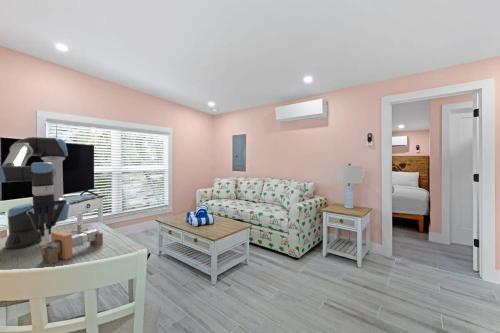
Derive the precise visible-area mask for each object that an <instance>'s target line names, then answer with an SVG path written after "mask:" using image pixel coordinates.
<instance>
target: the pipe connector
mask: <svg viewBox="0 0 500 333" xmlns="http://www.w3.org/2000/svg"><path fill="white" fill-rule="evenodd" d="M76 229H77V230H76ZM76 229H75V230H73V229H72V230H71V231H70V234H72V235H75V234H82V233H83V232H85V231H88V230H89V229H88V228H84V229H82V224H81V223H78V224H76Z"/></svg>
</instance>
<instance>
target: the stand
mask: <svg viewBox="0 0 500 333" xmlns="http://www.w3.org/2000/svg"><path fill="white" fill-rule="evenodd" d="M103 236H104V235H103V232H100V231H99V234H96V240H93V241H90V242H89V245H91V246H95V247H100V246H102V245H104V237H103ZM41 254H42V256H41V257H42V263H47V264H48V265H49V264H50V265H52V264H54V263H58V262H59V257H58V248H57V247H56V248H49V247H47V245H46V246H42V247H41Z"/></svg>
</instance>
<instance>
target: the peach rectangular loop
mask: <svg viewBox="0 0 500 333" xmlns="http://www.w3.org/2000/svg"><path fill="white" fill-rule="evenodd" d="M50 236H51V241H55V240H62V251H61V252H59V253H58V259H59V258H60V259H63V260H68V259H71V258H73V255H74V254H73V248H72V233H69V232H64V231H60V230H56V231H53V232H52V231H51V234H50ZM51 241H50V242H51Z"/></svg>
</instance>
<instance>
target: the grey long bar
mask: <svg viewBox="0 0 500 333" xmlns="http://www.w3.org/2000/svg"><path fill="white" fill-rule="evenodd" d="M99 232H100V231H99V229H95V228H92V229H88V231H85V232H83V233H82V234H75V235H72V249H73V248H75V247H79V246H81V245H84V243H86V242H87V243H90V241H93V240H96V234H99ZM46 246H47V247H49V248H56V247H57V248H58V253H59V252H61V251H62V240H55V241H49V242H47V243H46Z"/></svg>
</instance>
